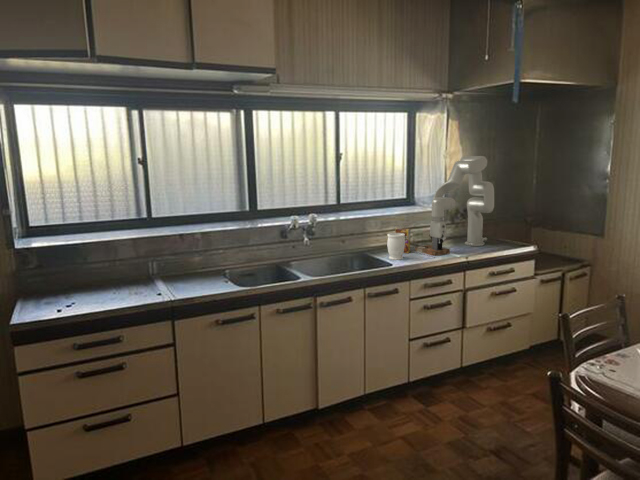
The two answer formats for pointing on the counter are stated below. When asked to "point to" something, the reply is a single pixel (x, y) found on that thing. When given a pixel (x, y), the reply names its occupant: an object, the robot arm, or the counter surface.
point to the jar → (395, 245)
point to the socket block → (431, 250)
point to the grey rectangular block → (435, 244)
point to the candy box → (405, 238)
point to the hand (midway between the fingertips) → (437, 248)
